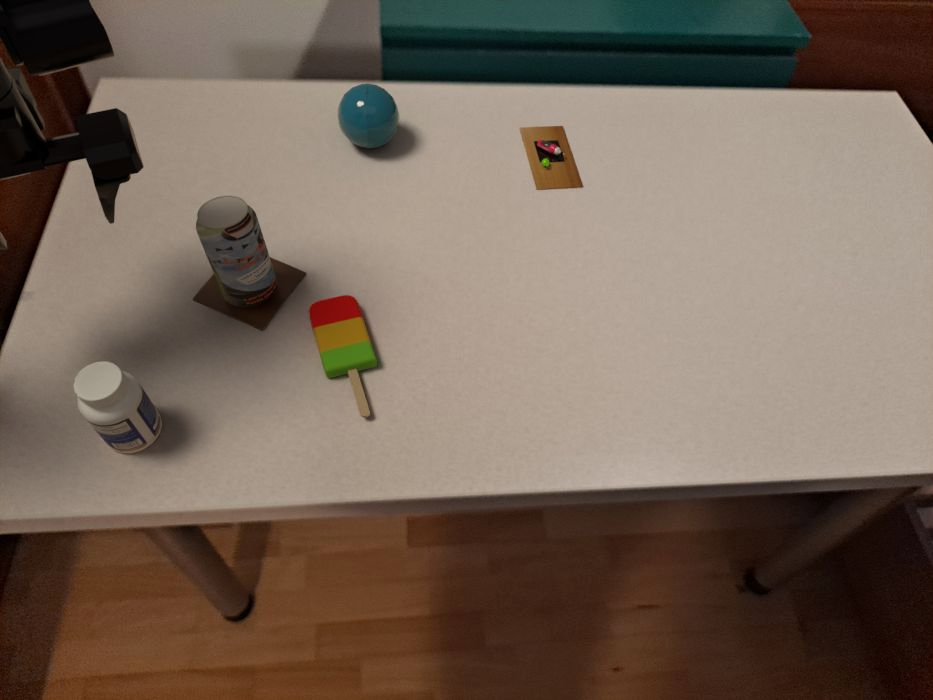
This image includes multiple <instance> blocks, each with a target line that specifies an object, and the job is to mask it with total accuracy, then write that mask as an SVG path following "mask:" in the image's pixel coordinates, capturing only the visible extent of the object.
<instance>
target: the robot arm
mask: <svg viewBox="0 0 933 700" xmlns="http://www.w3.org/2000/svg"><path fill="white" fill-rule="evenodd" d="M0 40H1V42H2V44H3V46H4V48H5V49H6V51H7V53H8V54H9V57H10V59H11V60H12V63H13V64H14V65H15V67H20V66H24V67H25V68H26V70H27V73H28V74H29V76H30V77H33V76H37V75H38V77H42V76H46V75H50V74H54V73H58V72H61V71H66V70H68V69H72V68H76V67H80V66H84V65H88V64H92V63H96V62H98V61H102V60H106V59H110V58H114V57H115V52H114V49H113V48H114V47H113V46H112V43H111V41H110V40H111V39H110V38H109V35H108V33H107V30H106V28H105V26H104V24H103V23H102V21H101V19H100V18H99V16H98V14H97V13H96V11H95V9H94V7H93V5H92V4H91V1H90V0H0ZM74 118H75V123H76V127H77V132H72V133H69V134H63V135H58V136H54V137H48V138H46V137H45V136H44V135H43V134H44V133H42V131H45V130H46V126H45V125H46V124H45V121H44V119H43V117H42V115H41V113H40V111H39V109H38V104H37V102H36V99H35V97H34V95H33V93H32V91H31V89H30V87H29V83H28V81H27V80H26V78H25V76H24V74H23V71H22V69H20V68H8V69H7V67H6V66H5V64H4V62H3V60H2V58H1V57H0V181H4V180H8V179H12V178H18V177H22V176H27V175H30V174H31V173H36V172H40V171H45V170H47V168H48V167H52V166H57V165H61V164H67V163H71V162H75V161H81V160H84V159H85V161H86V163H87V165H88V168H89V170H90V172H91V176H92V181H93V185H94V187H95V191H96V194H97V197H98V200H99V203H100V206H101V209H102V212H103V215H104V217H105V219H106V220H107V222H108V224H110V225H111V224H115V209H116V199H117V195H118V192H119V188H120V186H121V184H125V183H128V182H129V181H130V180H131V179H132V176H131V175H135V174H138V173H140V171H142V170H143V169H144V163H143V159H142V157H141V152H140V149H139V146H138V142H137V138H136V135H135V131H134V129H133V126H132V124H131V121H130V118H129V116H128V114H127V113H126V112H124V111H122V110H121V109H120V108H118V107H115V108H109V109H104V110H99V111H94V112H90V113H84V114H80V115H75V116H74ZM7 249H8V243H7V240H6V238H5V236H4V235H3V233H2V232H1V231H0V250H3V251H4V250H7Z"/></svg>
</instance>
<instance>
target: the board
mask: <svg viewBox="0 0 933 700" xmlns="http://www.w3.org/2000/svg"><path fill="white" fill-rule="evenodd" d="M519 132H520V135H521V139H522V143H523V147H524V149H525V153H526V156H527V161H528V164H529V169H530V171H531V174H532V178H533V181H534V185H535V187H536V188H535V189H536V191H539V190H541V191H542V190H558V189H575V188H576V189H577V188H578V189H579V188H583V187H584V185H583V182H582V179H581V175H580V173H579V170H578V167H577V165H576V161H575V157H574V155H573V152H572V150H571V149H572V148H571V146H570V143H569V140H568V138H567V134H566V132H565V128H564V126H563V125H549V126H545V125H544V126H521V127H520V126H519Z"/></svg>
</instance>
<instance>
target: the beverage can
mask: <svg viewBox="0 0 933 700" xmlns="http://www.w3.org/2000/svg"><path fill="white" fill-rule="evenodd" d="M195 231H196V234H197V236H198V239H199V240H200V243H201V246H202V249H203V251H204V253H205V256H206V258H207V260H208V262H209V265H210V268H211V270H212V272H213V274H214V275H215V278H216V280H217V282H218V285H219V287H220V290H221V292H222V295H223V297H224V299H225V300H226V301H227V302H228V303H230V304H232V305H234V306H238V307H251V306H255V305H258V304H261V303H263V302H265V301H266V300H268V299H269V298H270V297H271V296H272V295H273V294H274V293H275V291H276V289H277V278H276V275H275V272H274V269H273V266H272V263H271V260H270V257H271V256H270V253H269V250H268V247H267V243H266V240H265V238H264V234H263V231H262V228H261V225H260V222H259V219H258V216H257V213H256V211H255V210H254V208H253V207H251V206H250V204H249V205H248V203H247V202H246V201H245V200H244V199H243V198H241V197H238V196H235V195H220V196H216V197H214V198H210V199H209V200H207V201H205V202H204V203H203V204H202V205H201V206H199V208H198V210H197V213H196V221H195Z"/></svg>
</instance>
